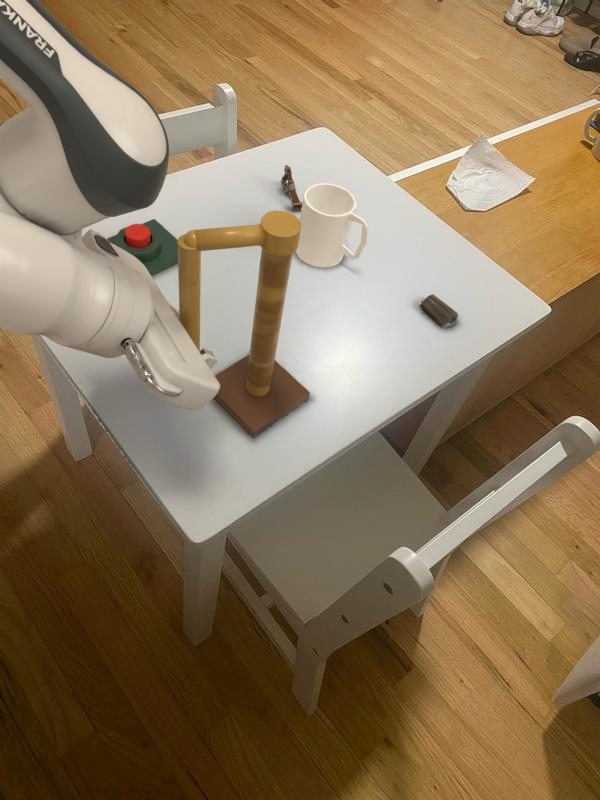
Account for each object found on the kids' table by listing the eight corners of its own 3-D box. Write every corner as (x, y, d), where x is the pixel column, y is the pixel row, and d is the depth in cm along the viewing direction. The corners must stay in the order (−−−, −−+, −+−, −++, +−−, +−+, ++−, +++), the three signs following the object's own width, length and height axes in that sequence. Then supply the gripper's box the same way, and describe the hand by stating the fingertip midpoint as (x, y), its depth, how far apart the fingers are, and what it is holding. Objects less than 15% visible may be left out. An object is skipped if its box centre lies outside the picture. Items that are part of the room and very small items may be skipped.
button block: (123, 289, 89) (121, 271, 86) (89, 255, 92) (86, 236, 89) (189, 258, 95) (188, 240, 92) (154, 227, 98) (153, 209, 95)
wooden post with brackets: (285, 176, 109) (292, 161, 105) (297, 216, 108) (304, 203, 104) (276, 177, 109) (282, 162, 104) (288, 217, 108) (294, 204, 103)
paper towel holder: (253, 438, 77) (274, 294, 56) (204, 388, 80) (207, 236, 60) (308, 399, 82) (346, 253, 61) (260, 353, 85) (281, 202, 65)
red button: (135, 251, 89) (134, 242, 88) (121, 238, 90) (120, 229, 89) (155, 243, 91) (154, 233, 90) (141, 230, 92) (140, 220, 91)
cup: (341, 287, 96) (354, 237, 88) (284, 248, 99) (292, 196, 91) (370, 264, 100) (386, 214, 92) (315, 228, 103) (326, 176, 95)
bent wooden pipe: (275, 331, 75) (294, 208, 60) (284, 355, 72) (306, 234, 58) (177, 344, 71) (173, 218, 57) (184, 370, 69) (181, 246, 54)
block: (429, 299, 97) (433, 291, 95) (459, 320, 95) (463, 312, 93) (416, 309, 95) (420, 301, 94) (446, 331, 93) (450, 323, 92)
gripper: (173, 365, 50) (263, 392, 62) (85, 217, 59) (178, 266, 71) (127, 414, 52) (223, 431, 64) (48, 263, 61) (145, 303, 73)
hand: (199, 343), depth 68 cm, fingers open, 4 cm apart
